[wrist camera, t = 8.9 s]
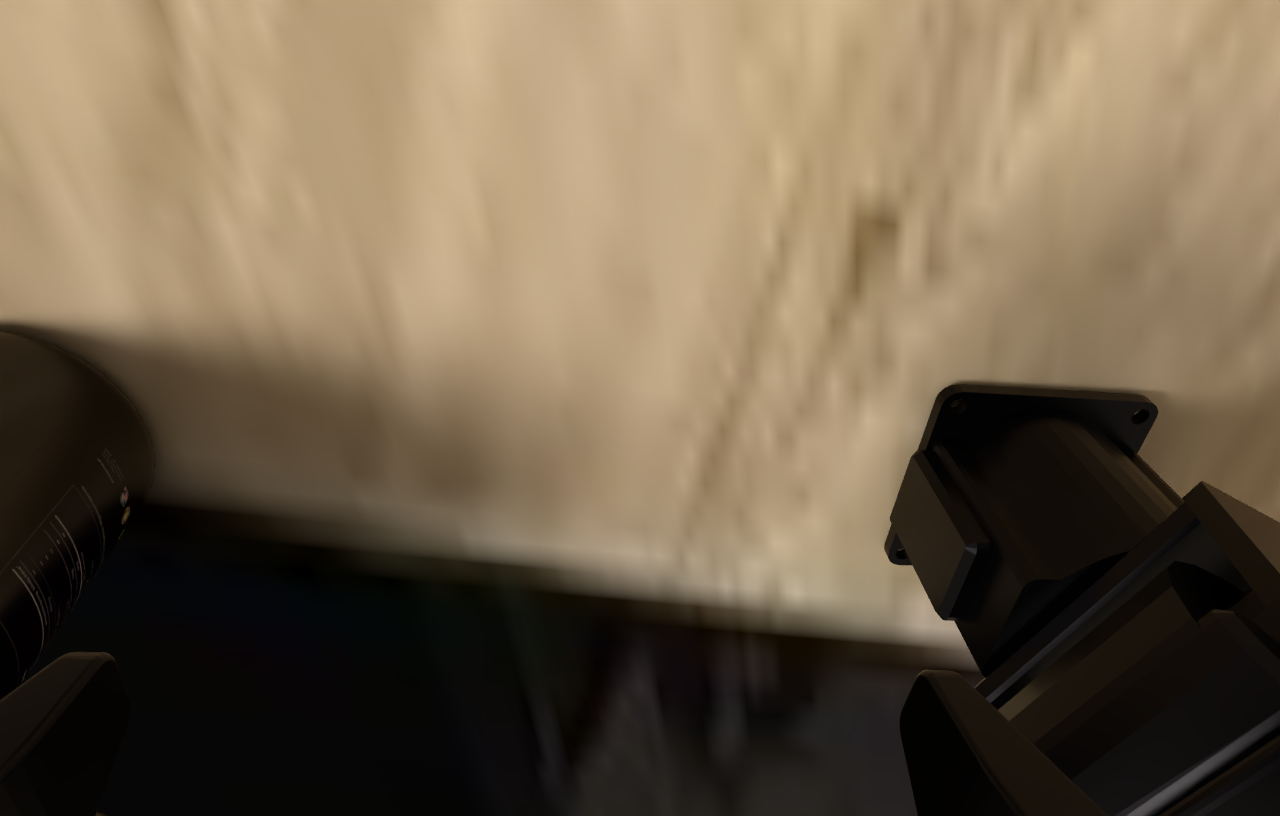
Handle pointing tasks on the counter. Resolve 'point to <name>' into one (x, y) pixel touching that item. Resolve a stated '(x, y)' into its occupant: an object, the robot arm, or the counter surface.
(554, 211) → the counter surface
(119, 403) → the supplement bottle
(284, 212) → the counter surface
